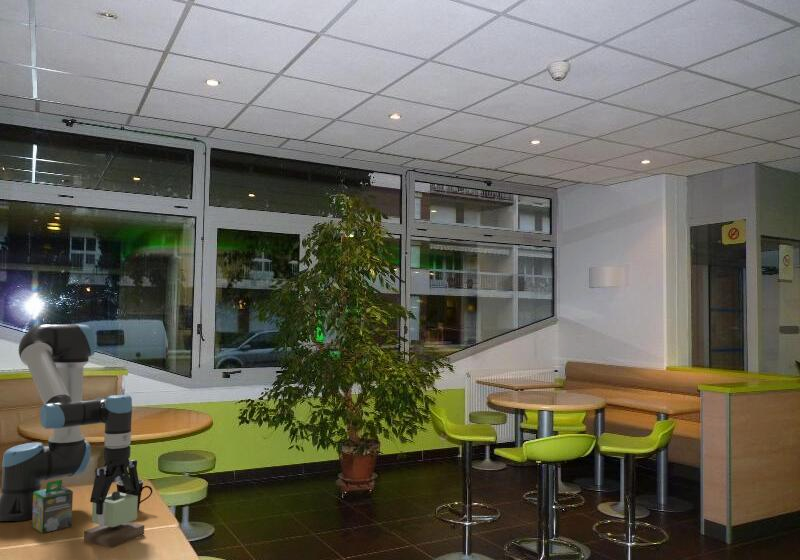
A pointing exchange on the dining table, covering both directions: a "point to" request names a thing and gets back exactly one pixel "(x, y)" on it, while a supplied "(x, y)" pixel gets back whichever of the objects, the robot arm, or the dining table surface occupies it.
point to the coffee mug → (122, 490)
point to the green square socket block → (118, 510)
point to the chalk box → (52, 508)
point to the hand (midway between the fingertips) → (114, 520)
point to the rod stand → (113, 531)
